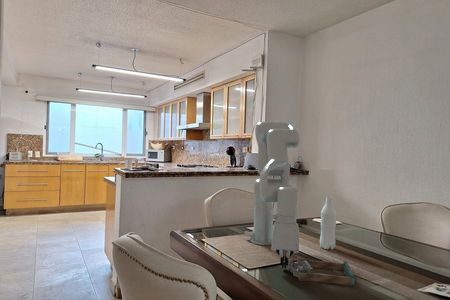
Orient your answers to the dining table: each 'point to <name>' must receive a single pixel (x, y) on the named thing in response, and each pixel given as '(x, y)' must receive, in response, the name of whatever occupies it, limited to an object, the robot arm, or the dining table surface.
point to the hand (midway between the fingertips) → (284, 266)
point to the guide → (325, 277)
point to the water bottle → (328, 224)
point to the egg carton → (299, 267)
